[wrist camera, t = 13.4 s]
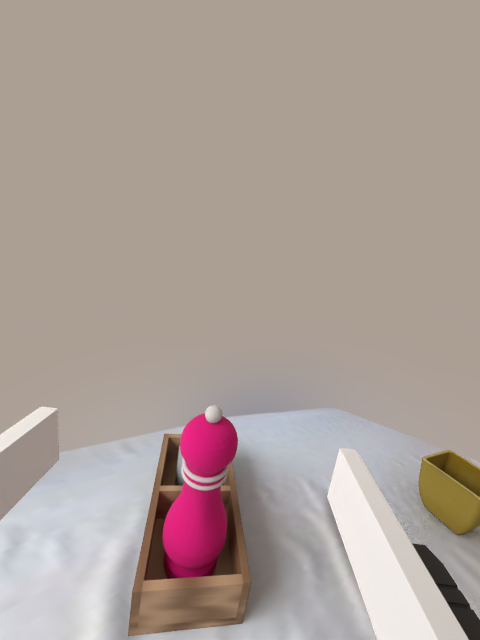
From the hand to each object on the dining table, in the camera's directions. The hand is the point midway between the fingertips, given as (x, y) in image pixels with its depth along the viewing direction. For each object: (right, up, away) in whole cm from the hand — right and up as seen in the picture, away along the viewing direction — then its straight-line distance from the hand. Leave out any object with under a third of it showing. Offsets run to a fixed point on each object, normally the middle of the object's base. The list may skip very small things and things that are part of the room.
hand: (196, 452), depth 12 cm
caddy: (-5, -22, +23) cm, 32 cm away
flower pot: (+37, -27, +31) cm, 55 cm away
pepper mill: (-4, -22, +18) cm, 29 cm away
